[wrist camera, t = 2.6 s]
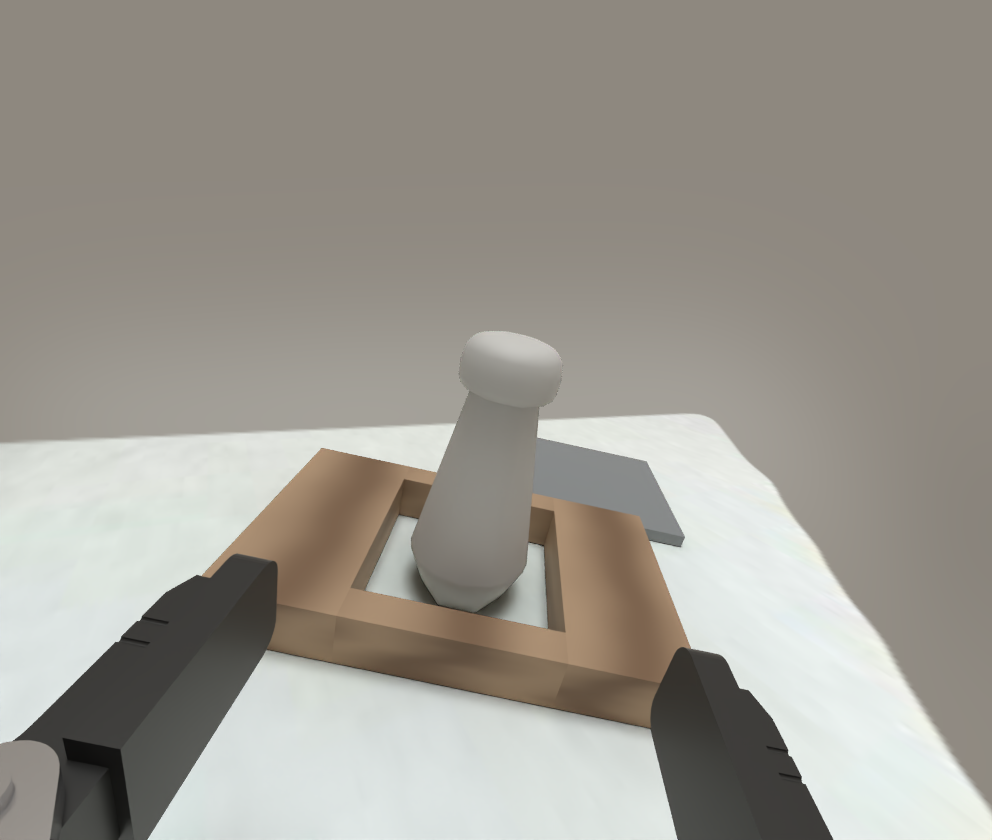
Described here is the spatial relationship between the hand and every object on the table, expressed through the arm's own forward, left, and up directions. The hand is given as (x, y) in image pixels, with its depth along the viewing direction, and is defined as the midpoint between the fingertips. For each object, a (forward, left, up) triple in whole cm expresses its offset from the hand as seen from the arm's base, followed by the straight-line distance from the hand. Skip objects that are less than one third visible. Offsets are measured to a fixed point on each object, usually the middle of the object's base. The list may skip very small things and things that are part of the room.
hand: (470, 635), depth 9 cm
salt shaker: (0, +12, -10) cm, 16 cm away
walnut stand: (0, +12, -10) cm, 16 cm away
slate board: (+8, +25, -10) cm, 28 cm away
